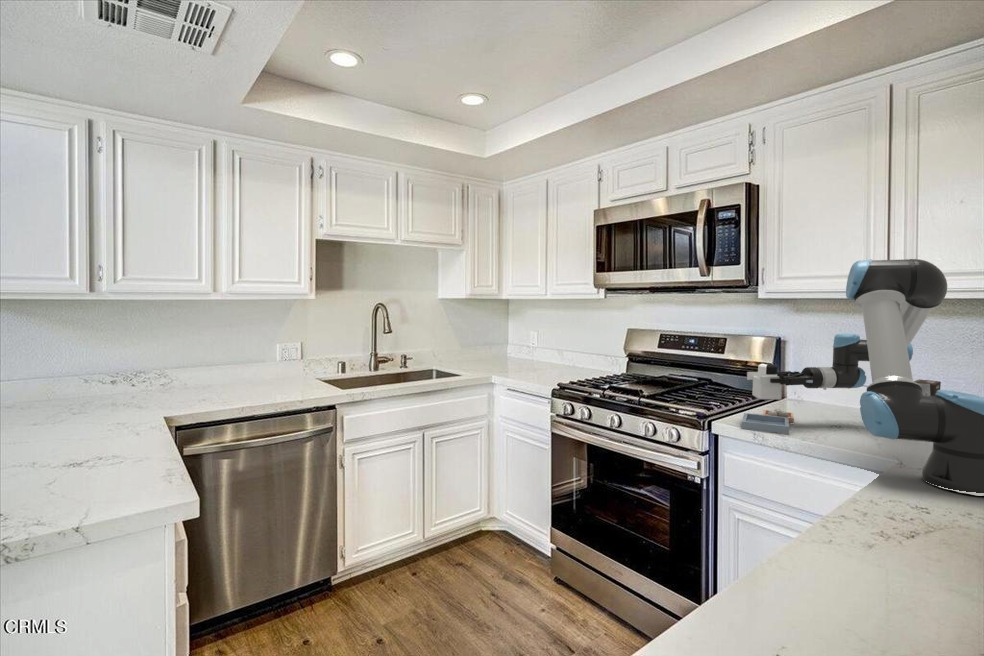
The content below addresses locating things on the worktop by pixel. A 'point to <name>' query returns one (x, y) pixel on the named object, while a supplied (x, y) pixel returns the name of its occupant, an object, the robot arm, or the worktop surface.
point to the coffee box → (929, 386)
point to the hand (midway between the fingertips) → (753, 378)
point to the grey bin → (765, 423)
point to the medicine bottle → (766, 389)
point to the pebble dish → (790, 415)
